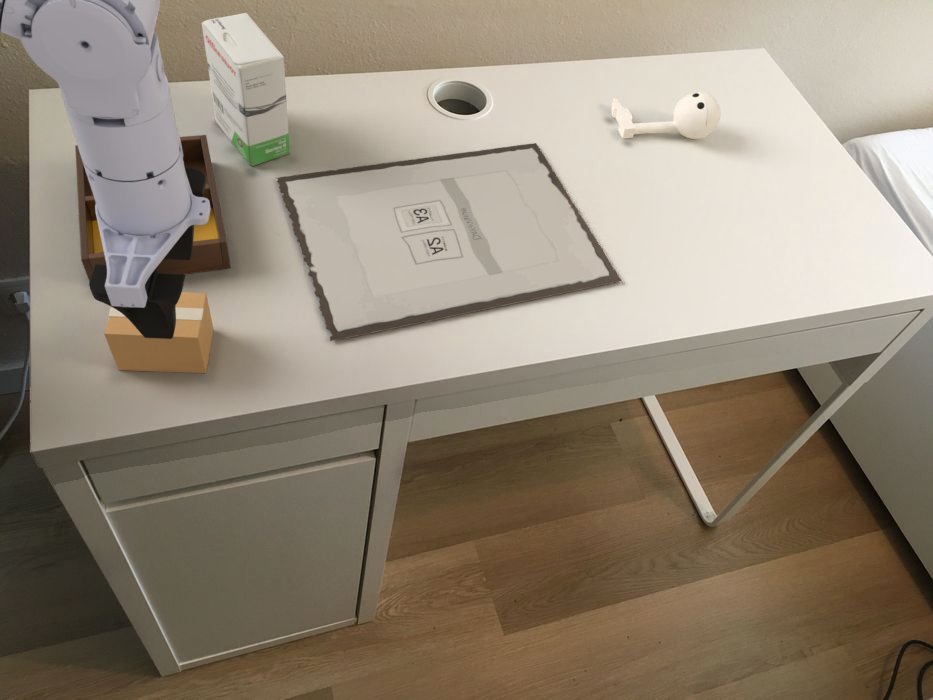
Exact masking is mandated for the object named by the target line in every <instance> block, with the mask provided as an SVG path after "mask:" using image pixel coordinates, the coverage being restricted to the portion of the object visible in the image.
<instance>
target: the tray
mask: <svg viewBox="0 0 933 700" xmlns="http://www.w3.org/2000/svg"><path fill="white" fill-rule="evenodd" d="M207 137H208V136H207V134H200V135H187V136H186V135H185V136H180V140H181V145H182V151H183V162H184V167H185V168H192V169H198V170H200V171H202V172H203V173H204V174H205V177H206V185H205V189H204V194H203V197H204V198H207V199H208V200H209V202H210V208H211V210H210V215H209V220H208V222H207V223H206V224H204V225H194V238H193V249H192V253H191V258H190V260H174V259H163V260H162V261H161V262H160V264H159V265H158V266H157V267H156V268H158V272H159V273H167V274H185V275H188V274H195V273H203V272H204V273H205V272H211V271H212V272H213V271H218V270H220V271H221V270H227V269H231V268H232V266H231V260H230V259H231V258H230V254H229V253H230V252H229V247H228V241H227V235H226V230H225V225H224V220H223V215H222V211H221V205H220V199H219V195H218V189H217V184H216V179H215V174H214V169H213V164H212V158H211V153H210V147H209V142H208V138H207ZM74 149H75V150H74V151H75V168H76V187H77V208H78V225H79V246H80V247H79V248H80V261H81V263H82V267H83V269H84V272H85V275H86V276H87V279H88V283H89V282H90V278H91V275H92V272H93V269H94V266H95V264H99V265H106V260H105V255H104V250H103V245H102V241H101V236H100V231H99V226H98V221H97V217H96V211H95V205H96V202H95V198H94V195H93V192H92V189H91V186H90V183H89V180H88V177H87V174H86V171H85V168H84V165H83V162H82V158H81V155H80V152H79V149H78V146H77V144H76V145H75V146H74Z"/></svg>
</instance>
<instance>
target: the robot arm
mask: <svg viewBox="0 0 933 700" xmlns="http://www.w3.org/2000/svg"><path fill="white" fill-rule="evenodd" d="M160 7H161V0H0V32H1V33H2V34H5V35H6V36H9V37H12V38H15V39H16V40H19V41H20V43H21V45H22V47H23V49H24V50H25V52H26V54H27V55H28V56H29V57H30V59H31V60H32V61H33V63H34V64H35V65H36V66H37V67H38V68H39V69H41V70H42V71H43V72H44V73H45V74H46V75H48V76H49V77H51V78H52V79H53V81H55V82H56V83H57V84H58V88H59V90H60V96H61V99H62V102H63V106H64V109H65V113H66V115H67V118H68V122H69V124H70V127H71V131H72V134H73V137H74V139H75V142H76V145H77V146H78V149H79V152H80V155H81V158H82V162H83V165H84V168H85V171H86V174H87V177H88V180H89V183H90V186H91V189H92V192H93V195H94V198H95V202H96V205H95V211H96V217H97V221H98V226H99V231H100V236H101V241H102V245H103V250H104V255H105V260H106V265H99V264H95V266H94V269H93V272H92V275H91V278H90V282H89V281H88V286H89V289H90V292H91V294H92V297H93V299H94V300H96V301H98V302H100V303H102V304H105V305H107V306H109V307H110V308H111V307H113V308H115V309H116V310H118V311H119V312H121V313H122V314H123V315H124V316H126V317H127V318H128V319H129V320H130V321H131V323H132V324H133V325H134V326H135V327H136V328H137V329H138V331H139V332H140V333H141V334H142V335H143V336H144V337H145V338H160V339H172V338H173V336H174V331H175V326H176V304H177V303H178V300H179V298H180V296H181V293H182V292H183V289H184V285H185V280H186V275H187V274H167V273H159V272H158V268H156V267H157V266H158V265H159V264H160V262H161V261H162V260H163V259H174V260H190V258H191V253H192V249H193V238H194V225H204V224H206V223H207V222H208V220H209V215H210V210H211V208H210V202H209V200H208V199H207V198H204V197H203V194H204V189H205V185H206V177H205V174H204V173H203V172H202V171H200V170H198V169H192V168H185V167H184V162H183V151H182V145H181V140H180V137H181V135H180V134H179V130H178V126H177V125H178V124H177V120H176V115H175V114H176V113H175V109H174V104H173V99H172V95H171V89H170V83H169V80H168V77H167V75H166V73H165V66H164V62H163V59H162V58H163V57H162V53H161V49H160V48H161V47H160V43H159V38H158V36H157V35H156V33H155V30H156V24H157V20H158V16H159V11H160Z"/></svg>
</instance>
